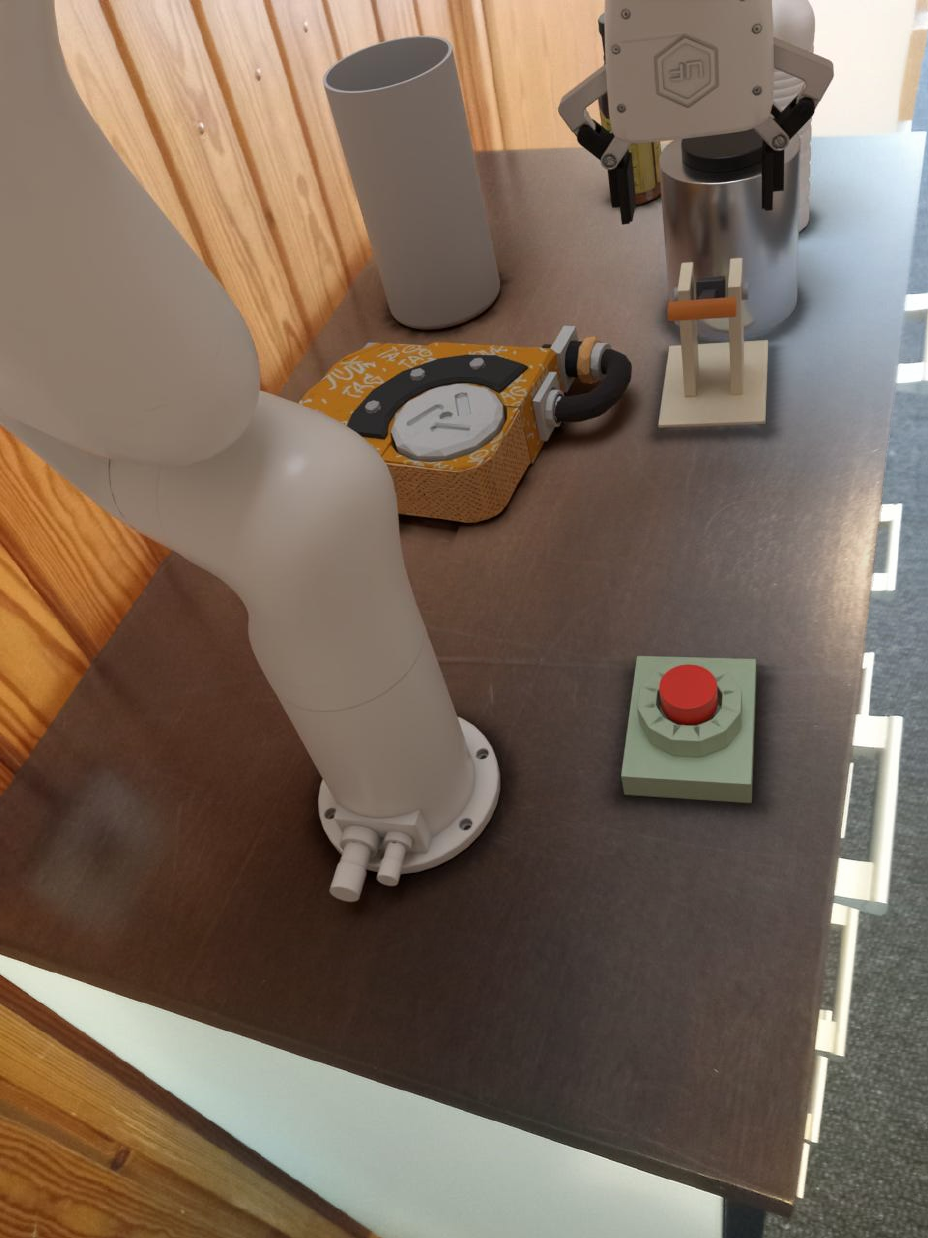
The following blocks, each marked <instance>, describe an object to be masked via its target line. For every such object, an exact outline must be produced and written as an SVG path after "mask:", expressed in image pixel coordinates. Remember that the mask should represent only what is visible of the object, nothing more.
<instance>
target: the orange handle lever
mask: <svg viewBox="0 0 928 1238" xmlns="http://www.w3.org/2000/svg"><path fill="white" fill-rule="evenodd" d="M666 307H667V310H666V312H667V313H666V314H667V321H668V322H674V321H684V320H699V319H714V318H729V317H736V316H737V297H727V298H725V276H718V277H705V278H699V279H698V280H697V282H696V300H686V301H672V302H669V301H668V302H667V306H666Z"/></svg>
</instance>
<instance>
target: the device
mask: <svg viewBox="0 0 928 1238" xmlns="http://www.w3.org/2000/svg"><path fill="white" fill-rule="evenodd" d="M632 371H633V365H632V362H631V361H630V359H629V358H628V356H627V355H625V354H624V353H622V352H620V351H618V350H615V349H613V348H612V344H611V343H610V342H602V341H601V340H600V339H599V338H598V337H597V336H594V335H593V336H586V337H584V339H583V340H581V341H580V340H579V336H578V330H577V326H576V325H563V326H562V328H561V329H560V331H559V333H558V335H557V336H556V337H555V339H554V341H553V343H552V344H551V343H544V344H542V346H541V347H536V346H533V347H532V346H531V347H529V346H515V345H514V346H513V345H512V346H511V345H497V344H495V345H493V344H478V343H476V344H475V343H463V342H462V343H461V342H443V341H434V342H432V343H430V344H428V345H425V344H407V343H393V342H392V343H391V342H386V343H384V344H383V343H380V342H367V343H366V344H365V345H364V346H363V347H362V348H361V349H359V350H357V351H355V352H352V353H350V354H347V355H345V356H344V357H343V358H341V359H340V360H339V361H337V362H336V363H334V364H333V365H332V366H331V368H330V369H329V370H328V371H327V372H326V374H325V375H324V376H323V377H322V378H321V379H320V381H318V382H317V383H316V384H315V385H313V386H312V387H311V388H309V389H308V390H307V392H306V393H305V394H304V395H303V396H302V397H301V399H300V400H299V401H298V402H297V403H298V404H301V405H303V406H306V407H309V408H311V409H313V410H316V411H318V412H321V413H323V414H325V415H327V416H329V417H331V418H333V419H335V420H337V421H339V422H341V423H343V424H344V425H346V426H347V427H349V428H350V429H352V430H353V431H355V432H356V433H358V434H359V435H360V436H362V437H363V438H364V439H365V440H366V441H368V442H369V443H370V444H371V445H372V446H373V447H374V449H375V450H376V451H377V452H378V453H379V454H380V456H381V457H382V459H383V460H384V462H385V463H386V465H387V467H388V469H389V471H390V474H391V477H392V479H393V482H394V487H395V492H396V498H397V506H398V515H404V516H413V517H422V518H431V519H439V520H440V519H441V520H447V521H453V522H460V523H467V524H468V523H478V522H482V521H485V520H489V519H491V518H493V517H496V516H497V515H499V514H500V513H501V512H502V511H503V510H504V508H505V507H506V506H507V505H508V503H509V501H510V500H511V498H512V496H513V494H514V492H515V491H516V488H517V486H518V484H519V483H520V481H521V479H522V477H523V476H524V474H525V472H526V470H527V468H528V467H529V466H530V465H533V464H534V463H535V461H536V459H537V457H538V455H539V453H540V451H541V449H542V447H543V446H544V443H545V442H548V440H549V439H550V437H551V436H552V433H553V431H554V430H555V428H559V427H560V426H561V423H581V422H585V421H588V420H592V419H595V418H599V417H600V416H602V415H604V414H606V413H607V412H608V411H609V410H610V409H612V408H613V407H614V406H615V405H616V404H617V403H619V401H620V400H621V399H622V398H623V396H624V394H625V392H626V390H627V389H628V386H629V385H630V383H631V381H632V375H633V372H632ZM576 378H579V380H580V381H581V383H583V384H588V385H592V384H594V383H596V382H598V380H602V381H601V382H600V383H599V384H598V385H597V386H595V387H594V388H593V389H592V390H590V391H589V392H585V393H581V394H576V395H571V396H567V395H566V396H565V394H564V393H568V391H569V389H570V387H571V386H572V384H573V383H574V380H575V379H576Z"/></svg>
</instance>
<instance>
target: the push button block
mask: <svg viewBox="0 0 928 1238" xmlns="http://www.w3.org/2000/svg"><path fill="white" fill-rule="evenodd" d="M686 664H692V665H698V666H701V667H703V668H705V669H707V670H708V671H710V672H711V673H712V674H713V676H714V677H715V679H716V682H717V692H718V706H717V709H716V711H715V713H714V714H713V715H712V716H711V717H710V718H709V719H708V720H706V721H704V722H702V723H699V724H695V725H683V724H679V723H676V722H674V721H672V720H671V719H669V718H668V717H667V716H666V715H665V713H664V712H663V710H662V707H661V700H660V691H659V684H660V681H661V679H662V677H663V676H664V674H665V673H666V672H668V671H669V670H670V669H672V668H674V667H676V666H680V665H686ZM756 694H757V659H756V658H735V657H734V658H728V657H695V656H693V657H692V656H660V655H659V656H657V655H637V656H636V661H635V668H634V675H633V684H632V690H631V698H630V707H629V714H628V721H627V728H626V736H625V744H624V751H623V759H622V765H621V773H620V777H621V783H622V789H623V794H624V795H625V796H637V797H638V796H639V797H640V796H641V797H653V798H654V797H655V798H667V799H668V798H670V799H683V800H684V799H685V800H699V801H711V802H712V801H714V802H726V803H727V802H729V803H744V804H752V802H753V776H754V751H755V749H754V748H755V727H756V726H755V725H756V724H755V722H756V700H757V699H756Z"/></svg>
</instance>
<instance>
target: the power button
mask: <svg viewBox="0 0 928 1238" xmlns="http://www.w3.org/2000/svg"><path fill="white" fill-rule="evenodd" d="M659 691H660V700H661V707H662V710H663V712H664V713H665V715H666V716H667V717H668V718H669V719H671V720H672V721H674V722H676V723H679V724H683V725H695V724H699V723H702V722H704V721H706V720H708V719H709V718H710V717H711V716H712V715H713V714H714V713H715V711H716V709H717V706H718V692H717V682H716V679H715V677H714V676H713V674H712V673H711V672H710V671H708V670H707V669H705V668H703V667H701V666H698V665H692V664H686V665H680V666H676V667H674V668H672V669H670V670H669V671H668V672H666V673H665V674H664V676H663V677H662V679H661V681H660V684H659Z"/></svg>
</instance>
